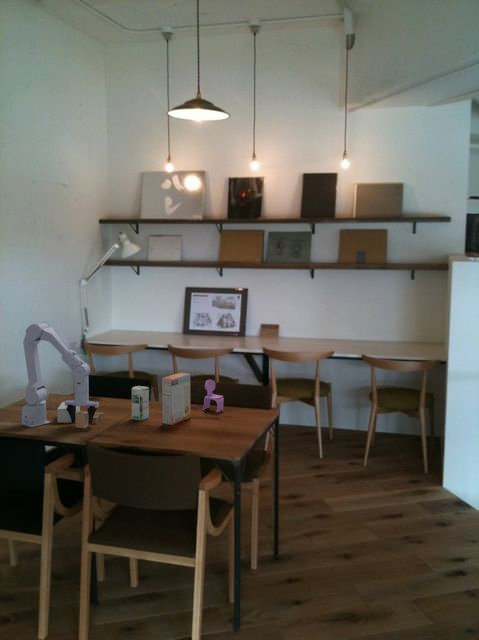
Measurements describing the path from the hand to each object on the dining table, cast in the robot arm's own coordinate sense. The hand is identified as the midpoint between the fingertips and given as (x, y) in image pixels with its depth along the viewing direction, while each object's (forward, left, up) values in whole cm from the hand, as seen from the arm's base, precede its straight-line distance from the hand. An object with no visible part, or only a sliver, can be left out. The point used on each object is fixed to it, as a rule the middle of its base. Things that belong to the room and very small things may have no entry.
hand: (81, 422), depth 243 cm
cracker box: (+33, -24, -2) cm, 41 cm away
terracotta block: (0, 0, -2) cm, 2 cm away
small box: (+8, +19, +1) cm, 21 cm away
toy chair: (+57, -25, -2) cm, 62 cm away
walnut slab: (+8, +5, -2) cm, 10 cm away
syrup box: (+25, -9, -2) cm, 27 cm away
